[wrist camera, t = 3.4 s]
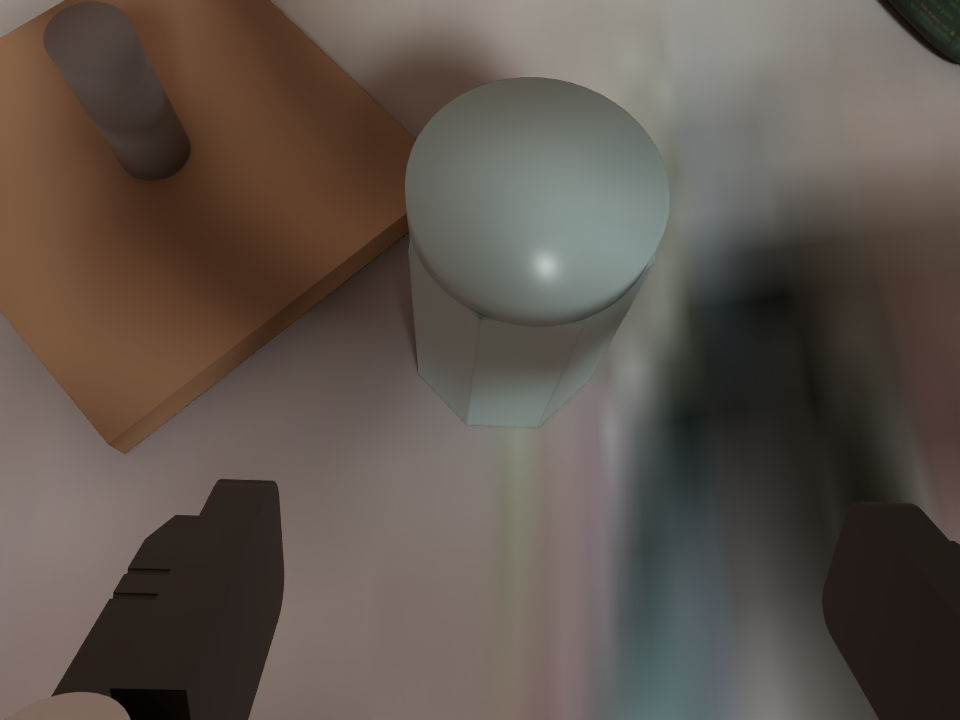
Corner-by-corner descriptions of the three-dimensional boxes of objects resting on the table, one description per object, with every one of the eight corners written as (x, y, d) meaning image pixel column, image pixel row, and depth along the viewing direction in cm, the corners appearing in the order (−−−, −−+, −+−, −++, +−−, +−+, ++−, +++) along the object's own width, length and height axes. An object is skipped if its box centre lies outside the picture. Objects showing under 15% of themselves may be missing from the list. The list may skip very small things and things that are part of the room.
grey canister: (506, 237, 25) (538, 36, 17) (625, 350, 24) (724, 194, 16) (381, 340, 24) (349, 175, 16) (502, 465, 23) (538, 361, 14)
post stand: (200, -46, 29) (140, -219, 23) (454, 196, 26) (458, 66, 20) (-124, 148, 25) (-291, 2, 20) (124, 454, 22) (14, 387, 17)
